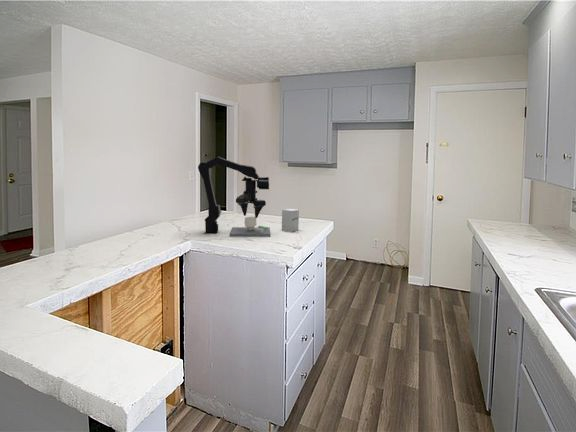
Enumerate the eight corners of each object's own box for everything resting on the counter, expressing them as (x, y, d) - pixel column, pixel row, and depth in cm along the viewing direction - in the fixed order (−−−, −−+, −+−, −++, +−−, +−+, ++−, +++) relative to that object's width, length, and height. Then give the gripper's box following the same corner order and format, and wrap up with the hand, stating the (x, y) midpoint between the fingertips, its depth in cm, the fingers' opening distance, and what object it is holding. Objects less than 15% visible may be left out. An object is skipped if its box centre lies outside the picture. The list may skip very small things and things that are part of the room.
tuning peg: (244, 230, 207) (243, 217, 206) (251, 228, 212) (251, 216, 210) (259, 234, 199) (259, 220, 198) (267, 232, 204) (267, 219, 202)
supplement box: (291, 232, 212) (291, 210, 209) (281, 230, 216) (281, 209, 214) (298, 230, 218) (299, 209, 215) (288, 228, 222) (289, 207, 220)
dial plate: (229, 236, 199) (229, 231, 199) (232, 229, 216) (232, 225, 215) (270, 236, 201) (270, 231, 200) (269, 229, 217) (269, 225, 217)
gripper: (228, 188, 204) (228, 216, 207) (251, 191, 192) (251, 221, 195) (243, 187, 212) (243, 214, 215) (266, 190, 200) (266, 218, 203)
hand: (250, 216), depth 207 cm, fingers open, 9 cm apart
